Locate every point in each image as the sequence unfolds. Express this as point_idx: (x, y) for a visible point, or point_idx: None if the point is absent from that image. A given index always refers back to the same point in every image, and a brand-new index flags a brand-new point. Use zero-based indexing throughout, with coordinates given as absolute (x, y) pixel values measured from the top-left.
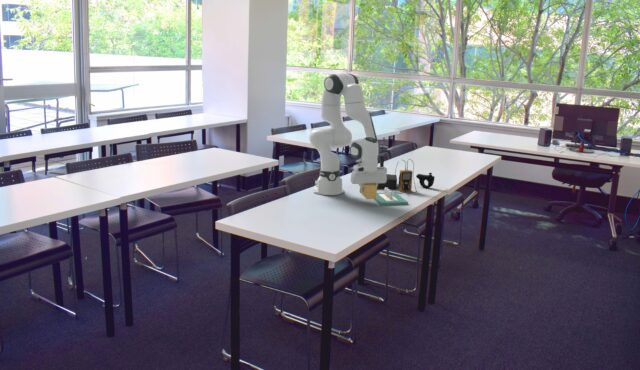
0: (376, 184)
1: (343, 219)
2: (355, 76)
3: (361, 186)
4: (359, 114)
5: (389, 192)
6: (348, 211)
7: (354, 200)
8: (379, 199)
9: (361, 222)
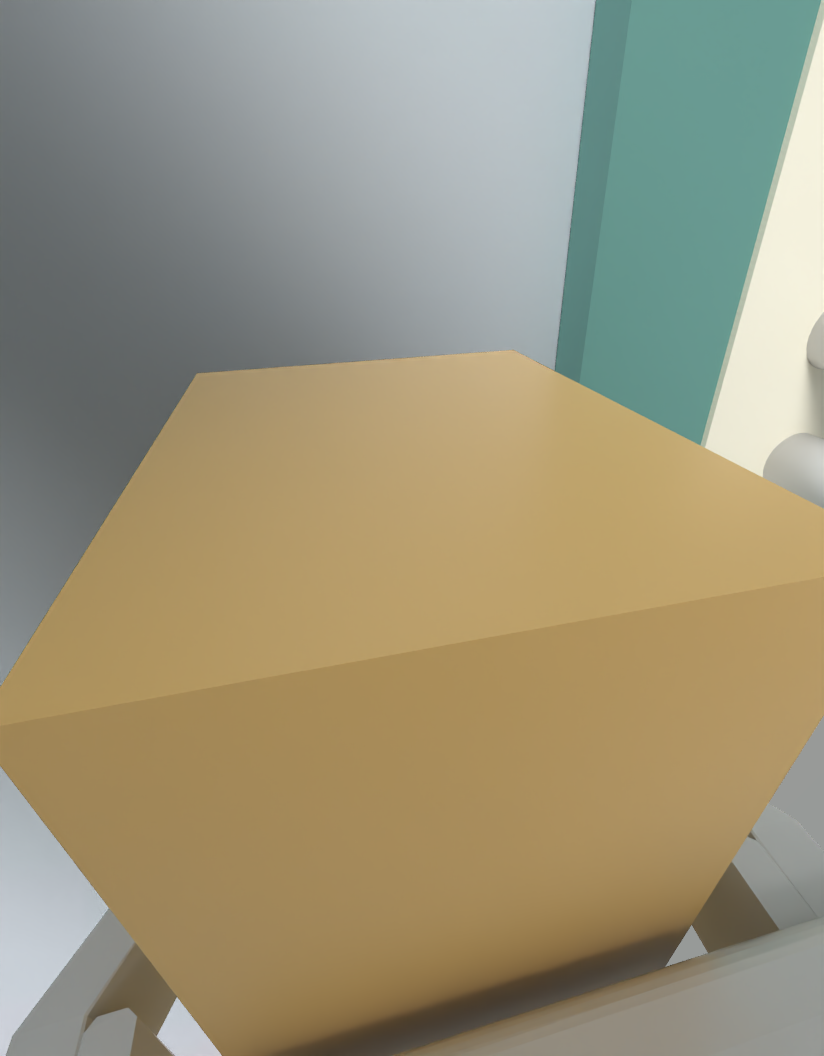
0: (717, 930)
1: (3, 1028)
2: None
3: (161, 1016)
4: None
5: None
6: (33, 860)
7: (108, 285)
8: None
9: (188, 1030)
